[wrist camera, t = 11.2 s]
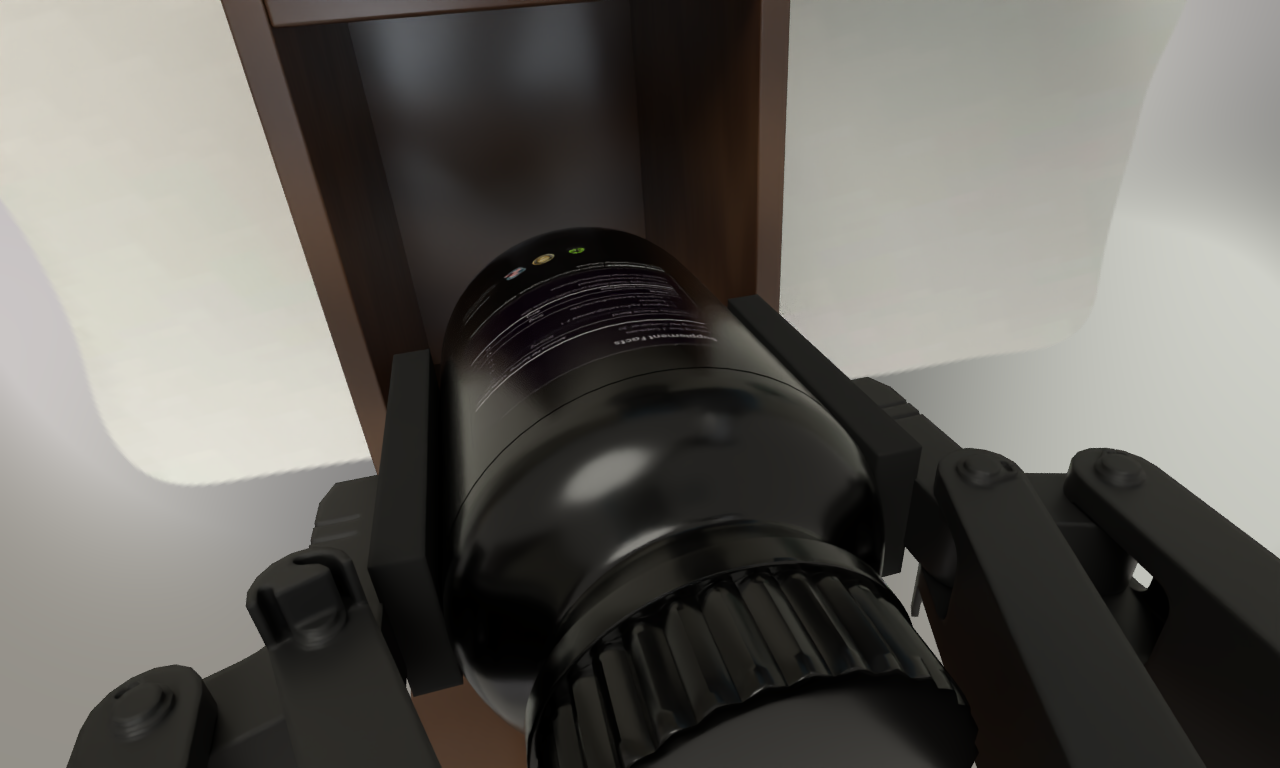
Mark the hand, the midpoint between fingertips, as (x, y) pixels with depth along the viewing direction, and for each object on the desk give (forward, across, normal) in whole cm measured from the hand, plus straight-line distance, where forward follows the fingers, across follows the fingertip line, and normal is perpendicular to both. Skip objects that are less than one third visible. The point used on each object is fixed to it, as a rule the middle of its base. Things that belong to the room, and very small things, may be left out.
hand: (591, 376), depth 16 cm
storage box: (+18, 0, 0) cm, 18 cm away
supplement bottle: (+2, 0, 0) cm, 2 cm away
